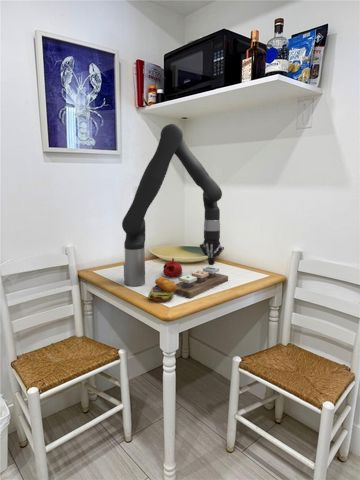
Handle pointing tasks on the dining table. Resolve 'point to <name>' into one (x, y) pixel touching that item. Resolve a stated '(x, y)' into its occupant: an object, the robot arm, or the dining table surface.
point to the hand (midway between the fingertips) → (211, 264)
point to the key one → (187, 280)
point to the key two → (200, 275)
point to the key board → (200, 286)
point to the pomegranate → (172, 269)
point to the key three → (211, 271)
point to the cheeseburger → (162, 290)
